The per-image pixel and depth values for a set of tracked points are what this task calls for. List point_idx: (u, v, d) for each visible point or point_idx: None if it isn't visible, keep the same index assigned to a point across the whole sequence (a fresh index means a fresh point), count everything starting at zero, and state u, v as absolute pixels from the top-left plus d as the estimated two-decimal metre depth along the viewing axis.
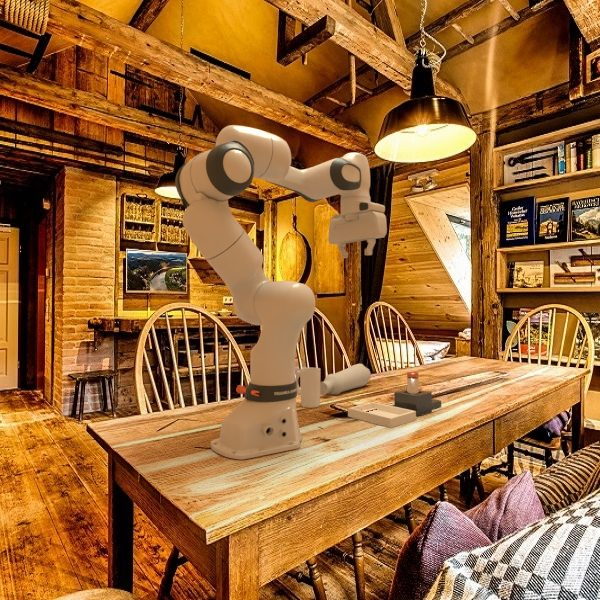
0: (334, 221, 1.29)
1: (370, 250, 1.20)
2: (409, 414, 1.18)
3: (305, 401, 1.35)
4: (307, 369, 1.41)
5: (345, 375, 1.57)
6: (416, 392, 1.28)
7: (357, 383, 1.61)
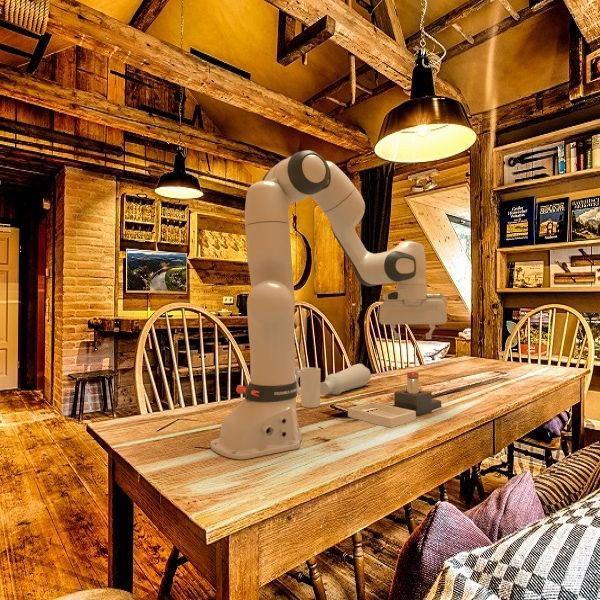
0: None
1: (394, 334, 1.30)
2: (409, 414, 1.18)
3: (305, 401, 1.35)
4: (307, 369, 1.41)
5: (346, 375, 1.57)
6: (416, 392, 1.28)
7: (357, 383, 1.61)
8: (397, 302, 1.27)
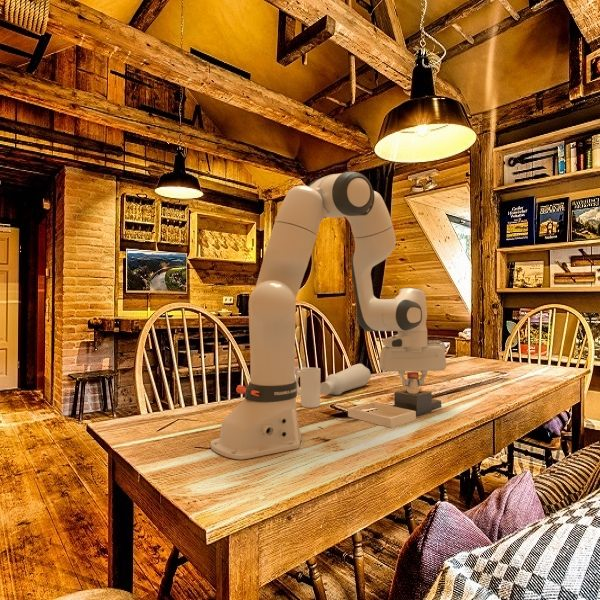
0: None
1: (403, 381, 1.29)
2: (409, 414, 1.18)
3: (305, 401, 1.35)
4: (307, 369, 1.41)
5: (346, 375, 1.57)
6: (416, 392, 1.28)
7: (357, 383, 1.61)
8: (400, 349, 1.26)
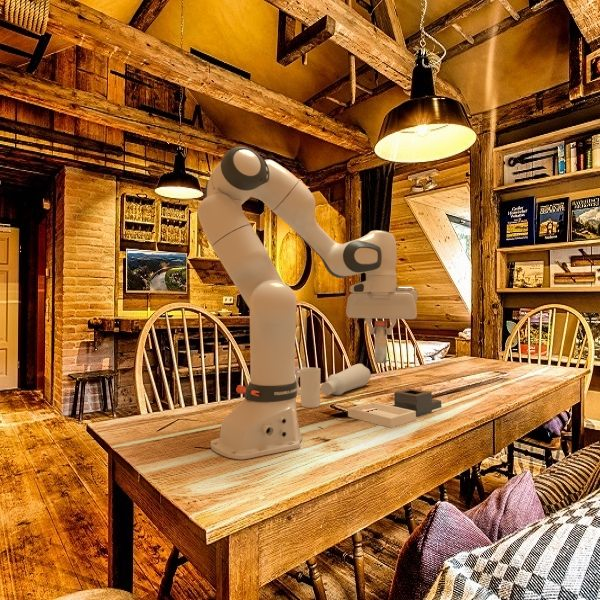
0: None
1: None
2: (409, 414, 1.18)
3: (305, 401, 1.35)
4: (307, 369, 1.41)
5: (347, 375, 1.56)
6: (381, 341, 1.20)
7: (358, 383, 1.61)
8: (363, 294, 1.21)
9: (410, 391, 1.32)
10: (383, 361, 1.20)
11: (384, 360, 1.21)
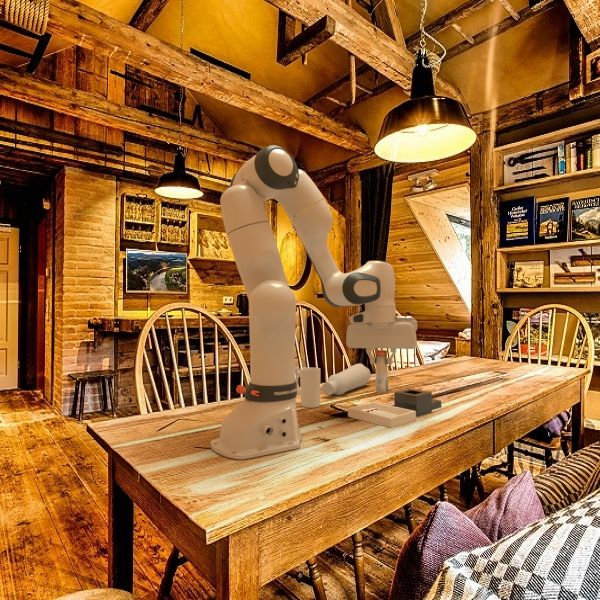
0: None
1: None
2: (409, 414, 1.18)
3: (305, 401, 1.35)
4: (307, 369, 1.41)
5: (348, 375, 1.56)
6: (382, 371, 1.21)
7: (358, 383, 1.61)
8: (363, 325, 1.21)
9: (410, 391, 1.32)
10: (385, 391, 1.21)
11: (386, 390, 1.21)
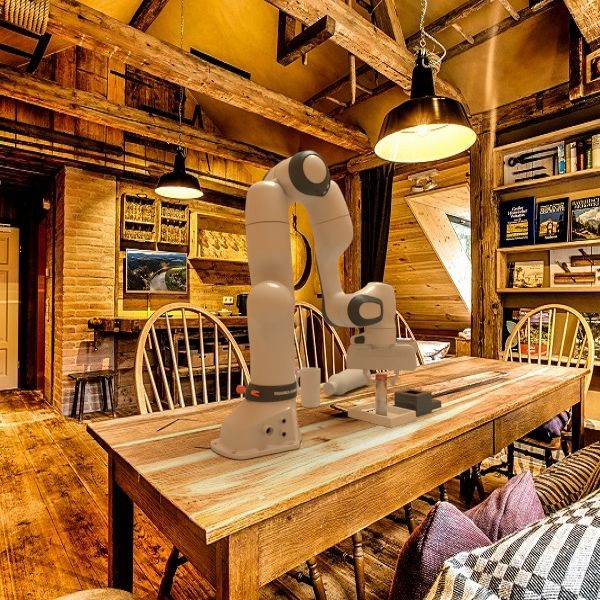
0: None
1: None
2: (409, 414, 1.18)
3: (305, 401, 1.35)
4: (307, 369, 1.41)
5: (348, 375, 1.56)
6: (383, 395, 1.21)
7: (359, 383, 1.61)
8: (364, 346, 1.20)
9: (410, 391, 1.32)
10: (384, 415, 1.20)
11: (385, 414, 1.21)
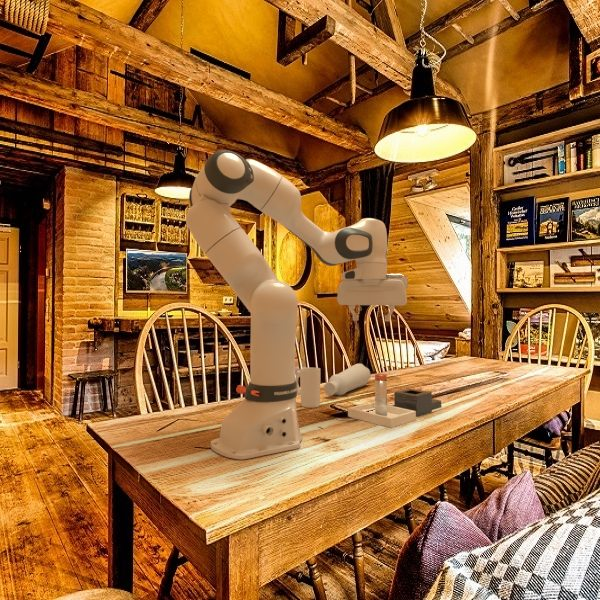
0: None
1: None
2: (409, 414, 1.18)
3: (305, 401, 1.35)
4: (307, 369, 1.41)
5: (349, 375, 1.56)
6: (382, 395, 1.20)
7: (359, 383, 1.61)
8: (354, 281, 1.23)
9: (410, 391, 1.32)
10: (384, 415, 1.20)
11: (385, 414, 1.21)
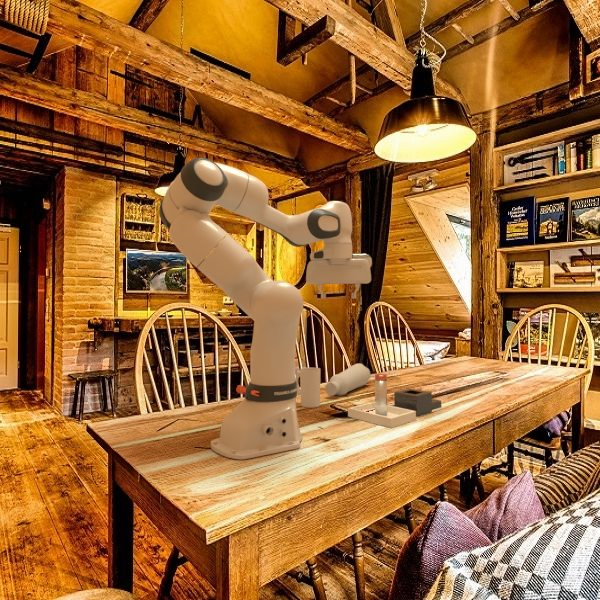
0: None
1: (321, 294, 1.31)
2: (409, 414, 1.18)
3: (305, 401, 1.35)
4: (307, 369, 1.41)
5: (350, 375, 1.56)
6: (382, 395, 1.20)
7: (359, 383, 1.62)
8: (323, 261, 1.29)
9: (410, 391, 1.32)
10: (384, 415, 1.20)
11: (385, 414, 1.21)
